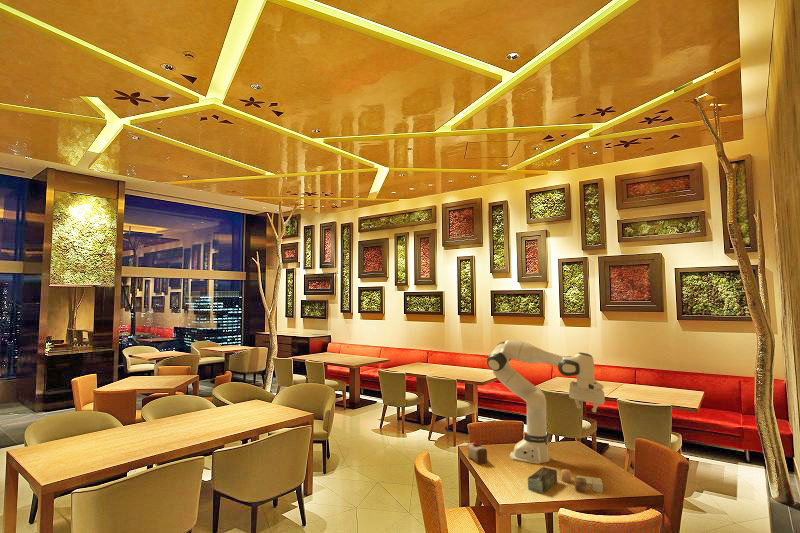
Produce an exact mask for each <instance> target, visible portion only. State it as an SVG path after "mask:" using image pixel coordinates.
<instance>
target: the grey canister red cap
mask: <svg viewBox="0 0 800 533" xmlns="http://www.w3.org/2000/svg"><path fill="white" fill-rule="evenodd" d="M481 443H482V442H480V443H479V442H470V443H467V457H468V458H469V459H471V460H472V461H473V462H475V463H476V464H477V465H485V464H487V463H488V449H487V448H486V447H483V445H481Z"/></svg>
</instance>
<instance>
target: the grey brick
mask: <svg viewBox="0 0 800 533" xmlns="http://www.w3.org/2000/svg"><path fill="white" fill-rule="evenodd" d="M591 477H592V485H591V486H592V489H593V492H594V491H596V492H595V493H601V492H603V493H604V486H603V485H604V484H603V481H602V479H601V478H600V477H594V478H593V476H591Z"/></svg>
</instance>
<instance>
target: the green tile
mask: <svg viewBox="0 0 800 533" xmlns="http://www.w3.org/2000/svg"><path fill="white" fill-rule="evenodd" d="M575 477H578V478H586V482H587V485H591V486H592V477H593V476H582V475H576V476H575ZM593 478H595V477H593Z"/></svg>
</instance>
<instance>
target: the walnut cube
mask: <svg viewBox="0 0 800 533" xmlns="http://www.w3.org/2000/svg"><path fill="white" fill-rule="evenodd" d="M574 489H575V492H576V491H578V492H579V493H585V492H586V493H588V484H587V482H586V478H578V477H576V476H574ZM578 492H577V493H578ZM586 493H585V494H586Z"/></svg>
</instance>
